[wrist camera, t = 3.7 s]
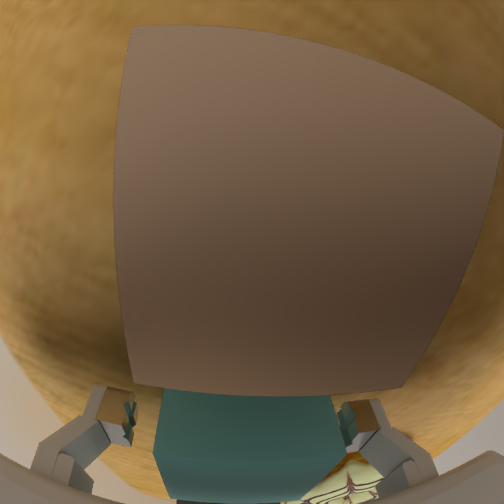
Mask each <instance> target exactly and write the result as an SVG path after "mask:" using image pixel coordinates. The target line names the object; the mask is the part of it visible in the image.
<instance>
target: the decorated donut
mask: <svg viewBox="0 0 504 504" xmlns="http://www.w3.org/2000/svg"><path fill="white" fill-rule="evenodd" d="M383 479H384V477H383V476H382V475H381V474H380V473H379V472H378V471H377V470H376V469H375V468H374V467H373V466H372V465H371V464H370V463H369V462H368V461H367V460H366V459H365V458H364V457H363V456H362V455H361V454H360V453H359V451H356V452H350V453H347V455H346V456H345V457H344V458H343V459H342V460H341V461H340V462H339V463H338V464H337V465H336V466H335V467H334V468H333V469H332V470H331V471H330V472H329V473H328V474H327V475H326V476H325V477H324V478H323V479H322V480H321V481H320V482H319V483H318V484H317V485H316V486H315V487H313V488H312V489H311V490H310V491H309V492H308V493H307V494H306V495H305V496H303V497H302V498H301V499H300V500H299V501H290V502H285V504H357V503H361V502H365V501H369V500H372V499H376V498H378V494H377V491H376V487H375V486H376V484H377V483H379V482H380V481H381V480H383Z"/></svg>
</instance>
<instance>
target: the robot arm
mask: <svg viewBox="0 0 504 504" xmlns="http://www.w3.org/2000/svg"><path fill="white" fill-rule="evenodd" d="M134 398H135V395H134V392H132V391H127V390H122V389H117V388H113V387H109V386H105V385H101V384H96V385H95V386H94V387H93V389H92V392H91V395H90V397H89V400H88V402H87V405H86V408H85V411H84V413H83V416H80V415H79V416H77V417H76V418H75V419H73V420H72V421H70V422H69V423H68V424H66V425H65V426H63V427H62V428H60V429H59V430H58V431H56V432H55V433H53V434H52V435H50V436H49V437H48V438H46V439H44V440H43V441H41V442H40V443H39V446H38V449H37V451H36V454H35V457H34V459H33V462H32V465H31V468H30V469H28V468H26V467H24V466H22V465H20V464H18V463H16V462H14V461H13V460H11V459H9V458H7V457H5V456H4V455H2V454H0V504H124V503H120V502H116V501H112V500H109V499H105V498H102V497H99V496H95V495H92V494H91V493H92V488H93V483H94V481H93V479H92V478H91V477H90V476H89V475H88V474H87V473H86V472H85V471H84V469H85V468H86V467H87V466H88V465H90V464H91V462H93V461H94V460H95V459H96V458H97V457H98V456H99V455H100V454H101V453H102V452H103V451H104V450H105V449H106V448H107V447H108V446H110V445H111V443H113V444H118V445H122V446H127V447H131V445H132V441H133V436H134V432H133V429H132V427H133V426H135V425H136V422H137V416H138V407H137V403H136V402H135V401H134ZM341 409H342V410H340V411H339V412H337V414H336V417H337V420H338V423H339V427H340V430H341V434H342V437H343V440H344V444H345V447H346V451H347V453H350V452H356V451H359V453H360V454H361V455H362V456H363V457H364V458H365V459H366V460H367V461H368V462H369V463H370V464H371V465H372V466H373V467H374V468H375V469H376V470H377V471H378V472H379V473H380V474H381V475H382V476H383V477H384V479H383V480H381V481H380V482H379V483H377V484H376V486H375V487H376V491H377V494H378V498H376V499H372V500H369V501H365V502H361V503H357V504H504V456H502V455H500V454H499V453H497V452H495V451H492V450H489V451H486V452H484V453H482V454H481V455H479V456H477V457H475V458H474V459H472V460H470V461H468V462H466V463H465V464H462V465H460V466H458V467H456V468H454V469H452V470H450V471H448V472H446V473H444V474H442V475H440V476H439V475H438V472H437V470H436V467H435V465H434V463H433V460H432V458H431V456H430V453H428V452H427V451H426V450H424V449H423V448H421V447H420V446H419V445H417V444H416V443H415V442H413V441H412V440H410V439H409V438H408V437H406V436H405V435H404V434H402V433H401V432H400V431H398V430H397V429H396V428H394V427H393V428H391V426H390V423H389V421H388V419H387V416H386V414H385V412H384V409H383V407H382V405H381V403H380V400H379V399H377V398H374V399H367V400H366V399H365V400H357V401H349V402H344V403H343V404H342V406H341Z"/></svg>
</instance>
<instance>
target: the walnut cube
mask: <svg viewBox="0 0 504 504" xmlns="http://www.w3.org/2000/svg"><path fill="white" fill-rule="evenodd" d="M503 135H504V130H503V129H502V128H500V127H499V126H498V125H496V124H495V123H493V122H492V121H491V120H489V119H488V118H486V117H485V116H483V115H482V114H480V113H479V112H477V111H475V110H474V109H472V108H471V107H469V106H467V105H466V104H464V103H462V102H461V101H459V100H457V99H456V98H454V97H452V96H450V95H448V94H447V93H445V92H443V91H441V90H439V89H437V88H435V87H433V86H431V85H429V84H427V83H425V82H423V81H421V80H419V79H417V78H415V77H413V76H411V75H408V74H406V73H404V72H402V71H399V70H397V69H395V68H392V67H390V66H387V65H385V64H382V63H379V62H377V61H374V60H371V59H369V58H366V57H363V56H360V55H357V54H354V53H351V52H348V51H345V50H342V49H338V48H335V47H331V46H328V45H324V44H320V43H316V42H312V41H308V40H304V39H300V38H295V37H290V36H285V35H280V34H275V33H269V32H263V31H256V30H248V29H240V28H231V27H219V26H203V25H151V26H135V27H132V30H131V35H130V39H129V44H128V49H127V54H126V59H125V65H124V71H123V77H122V84H121V91H120V99H119V107H118V117H117V127H116V140H115V157H114V239H115V256H116V269H117V280H118V290H119V299H120V307H121V315H122V322H123V328H124V335H125V341H126V347H127V352H128V357H129V363H130V368H131V372H132V377H133V382H134V383H137V384H142V385H148V386H154V387H161V388H167V389H175V390H183V391H191V392H201V393H212V394H225V395H242V396H322V395H338V394H351V393H362V392H371V391H380V390H387V389H394V388H401V387H402V386H403V385H404V383H405V382H406V380H407V379H408V377H409V376H410V374H411V373H412V371H413V370H414V368H415V367H416V365H417V364H418V362H419V360H420V359H421V357H422V356H423V354H424V352H425V351H426V349H427V347H428V346H429V344H430V342H431V340H432V339H433V337H434V335H435V333H436V332H437V330H438V328H439V326H440V324H441V322H442V320H443V319H444V317H445V315H446V313H447V311H448V309H449V307H450V305H451V303H452V301H453V299H454V296H455V294H456V292H457V290H458V288H459V286H460V283H461V281H462V279H463V276H464V274H465V272H466V269H467V267H468V264H469V262H470V259H471V257H472V254H473V252H474V249H475V246H476V243H477V241H478V238H479V235H480V232H481V229H482V226H483V223H484V219H485V216H486V213H487V209H488V206H489V202H490V199H491V195H492V191H493V187H494V183H495V178H496V174H497V169H498V164H499V159H500V154H501V148H502V142H503Z"/></svg>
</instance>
